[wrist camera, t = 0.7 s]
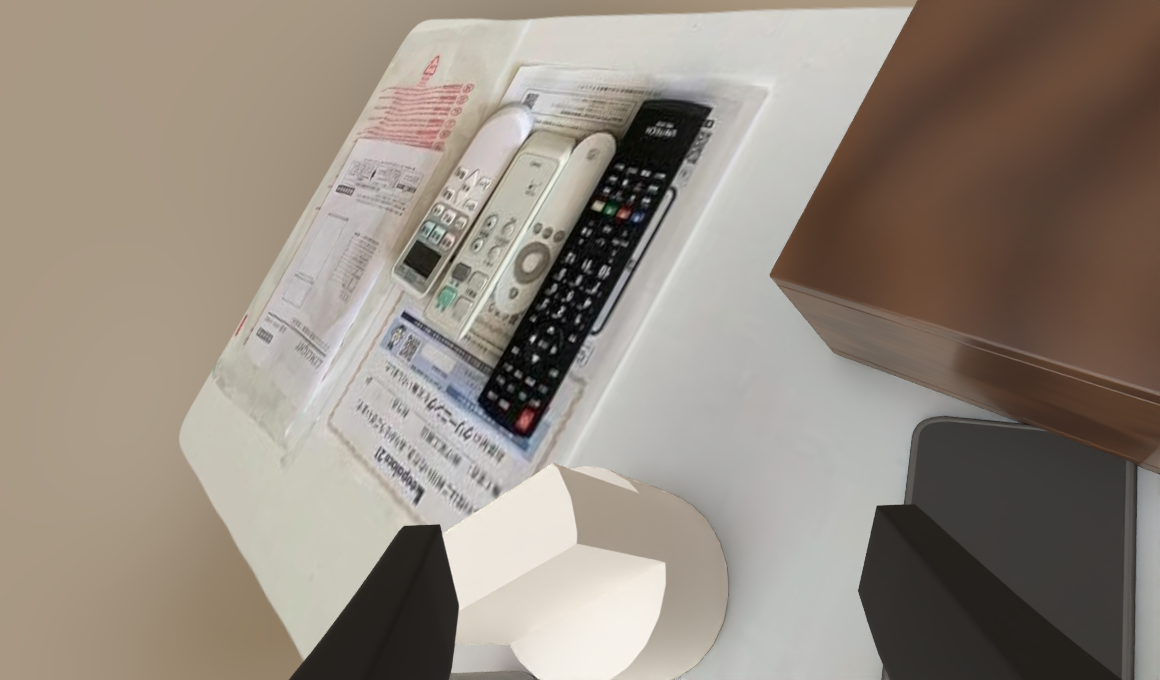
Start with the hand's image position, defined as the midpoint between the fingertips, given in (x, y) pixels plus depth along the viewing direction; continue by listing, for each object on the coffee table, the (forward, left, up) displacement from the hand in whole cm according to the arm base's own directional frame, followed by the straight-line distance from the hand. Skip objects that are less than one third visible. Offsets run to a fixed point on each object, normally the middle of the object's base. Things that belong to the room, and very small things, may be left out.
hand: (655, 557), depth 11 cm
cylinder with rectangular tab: (+9, +7, -20) cm, 23 cm away
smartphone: (-3, -2, -20) cm, 21 cm away
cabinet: (+1, -15, -20) cm, 25 cm away
